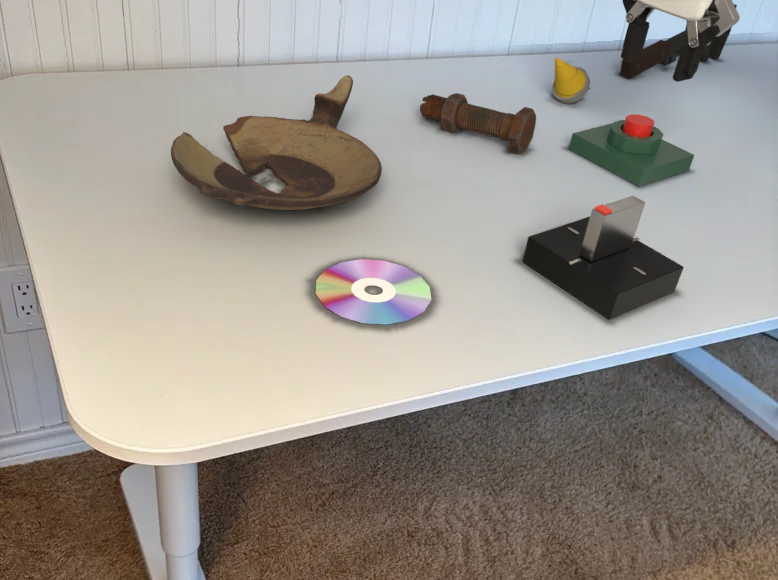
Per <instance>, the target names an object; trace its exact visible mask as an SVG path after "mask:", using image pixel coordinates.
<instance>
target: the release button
mask: <svg viewBox="0 0 778 580" xmlns="http://www.w3.org/2000/svg"><path fill="white" fill-rule="evenodd" d="M624 120H625V122H624V126H623V129H622V131H623V132H625V133H627V134H629V135H632V136H637V137H650V136H651V133H652V130H653V126H654V127H655V123H656V122H655V121H654V119H653V118H651V117H649V116H646V115H643V114H639V113H631V114H627V115H626V116H625V119H624Z"/></svg>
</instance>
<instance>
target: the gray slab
mask: <svg viewBox="0 0 778 580" xmlns="http://www.w3.org/2000/svg"><path fill="white" fill-rule="evenodd" d="M645 205H646V201H644V200H642V199H640V198H639V197H636V196H635V195H630V196H628V197H624V198H622V199H621V198H620V199H619V200H616V201H613V202H609V203H606V204H599V205H596V206H595V207H594V208H592V209H591V211H590V212H591V213H590V215H589V216H590V219H589V223H588V226H587V230H586V233H585V237H584V240H583V244H582V247H581V251H580V255H581V256H583V257H584V258H586V259H587V260H589V261H591V262H592V261H595V260H598V259H600V258H603V257H606V256H608V255H611V254H614V253H616V252H619V251H622V250H625V249H627V248H630V247H631V245H632V242H633V239H634V238H635V235H636V233H637V229H638V227H639V223H640V221H641V218H642V214H643V211H644V208H645Z"/></svg>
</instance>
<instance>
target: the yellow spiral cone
mask: <svg viewBox="0 0 778 580" xmlns="http://www.w3.org/2000/svg"><path fill="white" fill-rule="evenodd" d="M590 85H591V79H590V75H589V74H588V72H587V71H586V69H584V68H583V67H580V66H573V65H572V64H570V63H568V62H566V61H564V60H563V59H560V58H558V57H554V81H553V84H552V89H551V91H552V94H553V96H554V98H555V99H556V100H557V101H558V102H559V103H561V104H564V105H565V104H566V105H568V104H573V103H577V102H578V101H580V100H581V99H582V98H583V97H585V95H586V94H587V93H588V91H590V90H591V87H590Z"/></svg>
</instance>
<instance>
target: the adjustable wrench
mask: <svg viewBox="0 0 778 580" xmlns="http://www.w3.org/2000/svg"><path fill="white" fill-rule="evenodd" d="M733 4H734V6H735V8H736V9H737V8H738V5H737V4H735V3H733ZM719 18H720V16H719V17H716V18H710V19H711V26H713V25H714V24H715V23H716V22H717V21H718V20H719ZM732 28H733V26H732V27H731V28H730V29H728V30H727V31H725V32H724V34H723V35H722V36H720V37H718V38H717V39H715V40H714V41H712V42H711V43H710V44H709V45H705V48H704V51H703V54H702V57H701V60H700V62H703V63H706V62H707V61H709V58H712V59H714V60H719V58H720V56H721V54H722V52H723V49H724V47H725V45H726V43H727V40H728V38H729V36H730V34H731V32H732ZM688 43H689V42H688V32H687V23H686V24H685V29H684V30H683V31H680V32H679V33H676V34H675V35H673V36H671V37H668V38H667V39H665V40H664V39H660V40H658V41H655V42H654V43H652V44H650V45H648V46H646V47H643V50H642V54H641V56H639V57H635V58H630V59H622V58H621V65H620V71H619V75H620V76H621V77H624V78H626V79H628V80H631V79H632V78H634V77H636V76H638V75H640V74H641V73H644V72H645V71H647V70H649V69H652V68H654V67H655V66H657V65H658V64H659V65H662V66H668V65H671V64H673V63H675V62H676V61H677V59H678V58H679V56H680V53H681V49H682V47H683V46H684V45H688Z"/></svg>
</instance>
